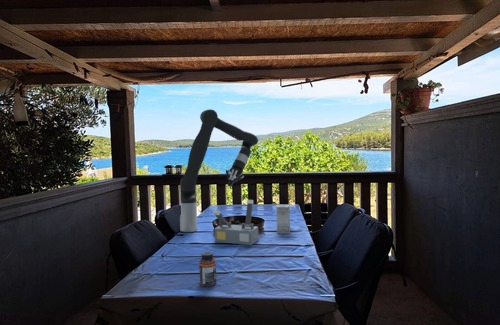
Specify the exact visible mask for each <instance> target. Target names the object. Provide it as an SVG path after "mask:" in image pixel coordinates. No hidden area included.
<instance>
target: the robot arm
mask: <svg viewBox="0 0 500 325" xmlns="http://www.w3.org/2000/svg"><path fill="white" fill-rule="evenodd" d="M199 118H200V122H201V126H200V129H199V132H198V133H197V135H196V137H195V139H194V140H193V142H192V145H191V148H190V151H189V155H188V160H187V161H188V162H187V166H186V169H185V172H184V174H183V177H181V179H180V182H179V188H180V189H179V192H180V213H181V214H180V215H179V228H180V230H179V231H180V232H183V233H192V232H196V231H197V230H198V217H197V216H198V214H197V212H198V211H197V193H196V192H197V190H196V189H197V186H196V185H197V180H198V176H199V172H200V169H201V167H202V164H203V163H204V160H205V157H206V154H207V151H208V148H209V144H210V140H211V136H212V134H213V131H214V128H215V129H217V130H219V131H221V132H223V133H225V134H227V135H228V136H229V137H231V138H233V139H235V140H237V141H242V143H241V145H240V146H241V148H240V149H239V152H238V153H237V155H236V156H235V159H234V161H233V164H232V165H231V167H230V168H229V169H228V170H227V169H225V174H226V178H227V180H228V182H227V187H229V188H231V187H232V186H233V184H234V183H235V182H236V183H237V182H239V181H241V180H242V179H244V178H245V176H244V174H243V171H244V170H245V167H246V166H247V164H248V161H249V158H250V156H251V154H252V150H251V149H252V147H253V146H256V145H258V142H259V139H258V137H257V136H256V135H255V134H253V133H251V132H249V131H245V130H243V129H241V128H240V127H238V126H236V125H234V124H231V123H229V122H226V121H225V120H223V119H221V118H219V116H218V113H217V111H216V110H215V109H210V108H209V109H205V110H203V111H202V112H201V113H200V115H199Z"/></svg>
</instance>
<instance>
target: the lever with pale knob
mask: <svg viewBox="0 0 500 325" xmlns="http://www.w3.org/2000/svg"><path fill="white" fill-rule="evenodd" d="M212 213H213V215H214V216H215V217H216V218H217V219H218V220H219V223H220V222H221V223H222V225H226V226H228V223H229V222H228V221H227V219H226V218H225V217H224V215H222V213H221V211H220V209H214V210H213V212H212Z"/></svg>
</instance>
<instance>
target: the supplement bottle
mask: <svg viewBox="0 0 500 325" xmlns="http://www.w3.org/2000/svg"><path fill="white" fill-rule="evenodd" d="M216 262H217V260H216V258H214V254H213V252H212V251H203V252H202V253H201V258H200V259H199V261H198V264H199V266H198V268H199V284H200V286H202V287H204V286H210V287H213V286H215V285H216V284H217V263H216Z"/></svg>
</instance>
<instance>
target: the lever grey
mask: <svg viewBox="0 0 500 325" xmlns="http://www.w3.org/2000/svg"><path fill="white" fill-rule="evenodd" d="M246 204H247V205H246V206H247V207H246V213H245V222H244V223H245V224H244V227H251V224H252V213H253V205H254V200H253V199H247V200H246Z"/></svg>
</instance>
